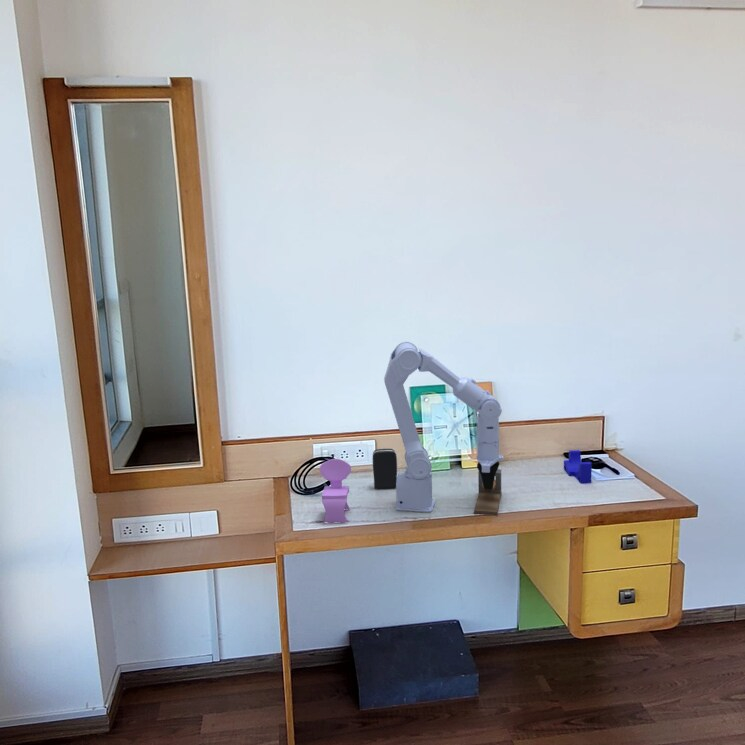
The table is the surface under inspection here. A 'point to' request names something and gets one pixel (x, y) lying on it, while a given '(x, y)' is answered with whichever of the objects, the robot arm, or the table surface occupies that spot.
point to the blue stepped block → (578, 467)
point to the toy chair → (335, 489)
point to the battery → (384, 468)
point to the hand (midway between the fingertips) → (488, 488)
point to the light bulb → (492, 488)
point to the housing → (497, 487)
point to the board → (487, 504)
